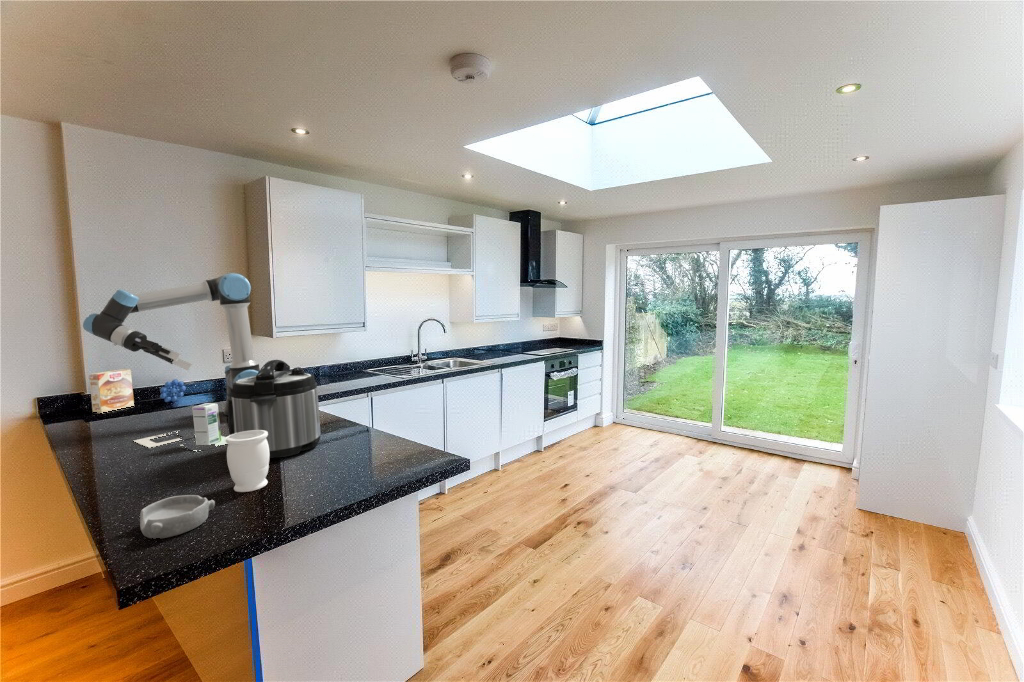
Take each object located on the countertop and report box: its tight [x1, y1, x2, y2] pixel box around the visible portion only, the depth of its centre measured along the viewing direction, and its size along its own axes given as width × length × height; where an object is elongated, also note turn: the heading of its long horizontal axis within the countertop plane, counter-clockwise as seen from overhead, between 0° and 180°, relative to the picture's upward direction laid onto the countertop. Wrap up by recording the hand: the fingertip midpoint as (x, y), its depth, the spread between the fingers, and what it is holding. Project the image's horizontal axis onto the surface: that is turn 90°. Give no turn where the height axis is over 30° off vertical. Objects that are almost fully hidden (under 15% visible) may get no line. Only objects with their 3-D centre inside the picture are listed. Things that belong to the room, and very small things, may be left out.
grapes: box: [159, 378, 187, 403], centre depth 250 cm, size 12×7×12 cm, turn 133°
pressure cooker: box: [227, 359, 321, 459], centre depth 163 cm, size 30×28×32 cm
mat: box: [179, 435, 228, 453], centre depth 172 cm, size 14×14×1 cm
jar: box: [225, 430, 270, 493], centre depth 131 cm, size 11×10×15 cm
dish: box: [139, 494, 216, 540], centre depth 110 cm, size 14×14×5 cm
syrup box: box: [191, 402, 222, 445], centre depth 172 cm, size 6×6×14 cm
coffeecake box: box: [88, 368, 135, 414], centre depth 233 cm, size 15×7×20 cm, turn 161°
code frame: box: [132, 430, 182, 449], centre depth 180 cm, size 16×16×1 cm
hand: (184, 362), depth 183 cm, fingers open, 13 cm apart
